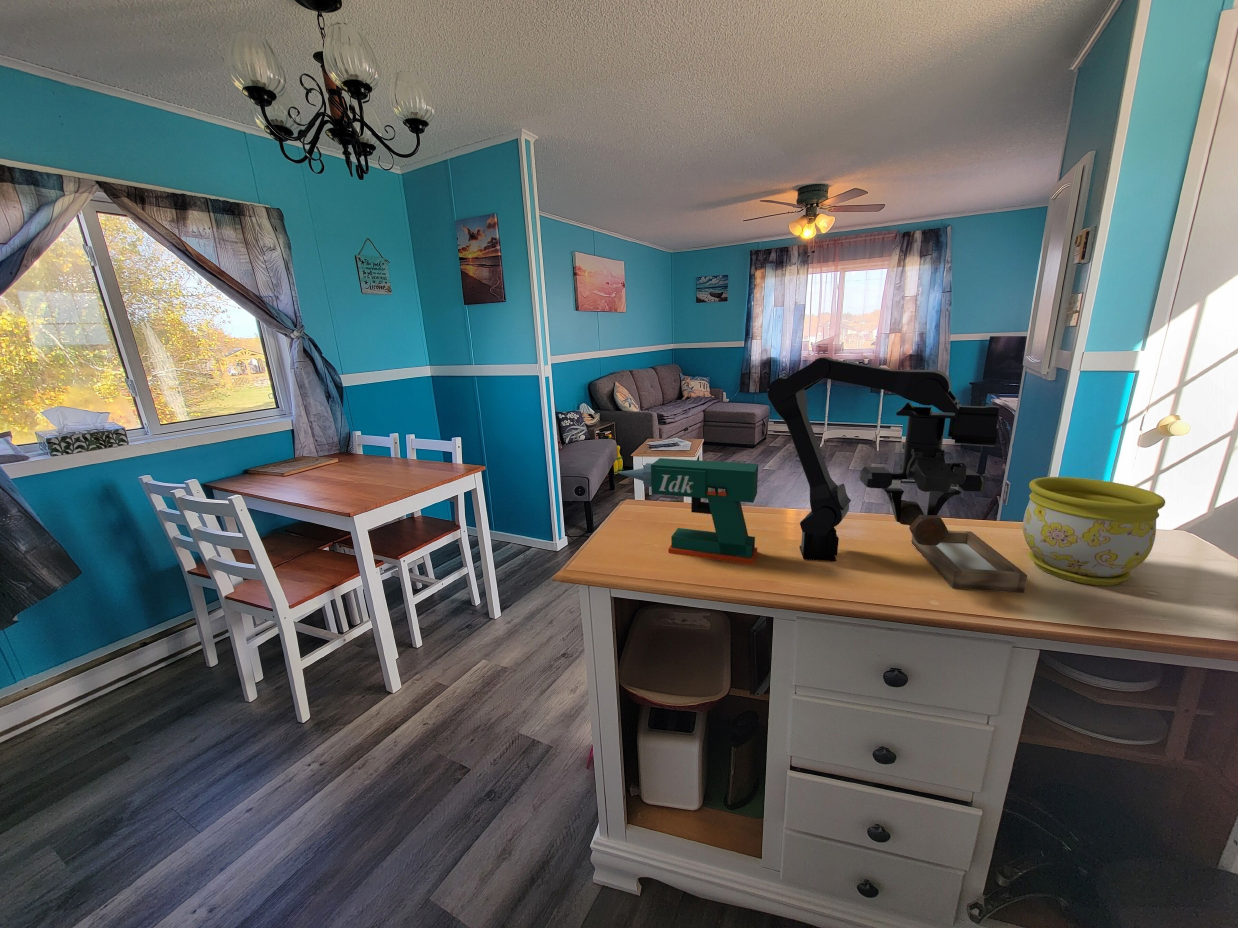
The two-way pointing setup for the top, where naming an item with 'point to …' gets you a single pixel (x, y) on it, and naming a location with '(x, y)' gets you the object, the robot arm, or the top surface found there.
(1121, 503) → the flowerpot
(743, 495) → the power tool
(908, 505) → the bolt
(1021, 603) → the top surface
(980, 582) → the wooden tray
